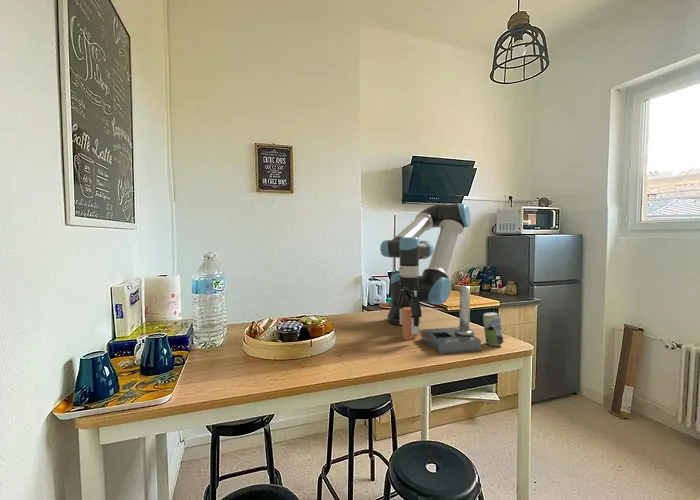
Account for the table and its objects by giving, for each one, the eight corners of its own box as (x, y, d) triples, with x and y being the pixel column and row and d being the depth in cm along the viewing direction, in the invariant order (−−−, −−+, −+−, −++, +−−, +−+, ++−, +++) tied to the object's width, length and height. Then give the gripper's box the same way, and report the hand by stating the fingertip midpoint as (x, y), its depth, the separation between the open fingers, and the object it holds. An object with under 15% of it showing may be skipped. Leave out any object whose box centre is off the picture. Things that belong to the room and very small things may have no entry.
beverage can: (505, 348, 127) (505, 315, 126) (483, 346, 129) (484, 314, 128) (501, 342, 133) (501, 311, 132) (480, 341, 135) (481, 310, 134)
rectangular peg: (402, 336, 141) (402, 307, 140) (411, 336, 142) (411, 307, 141) (405, 339, 137) (405, 309, 136) (415, 339, 138) (415, 309, 137)
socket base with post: (421, 339, 137) (421, 284, 136) (461, 336, 140) (462, 282, 139) (439, 354, 121) (439, 292, 120) (484, 350, 125) (485, 289, 123)
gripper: (390, 272, 149) (390, 320, 151) (411, 281, 125) (411, 339, 126) (407, 271, 150) (406, 319, 152) (431, 280, 126) (430, 337, 128)
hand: (408, 328), depth 139 cm, fingers open, 13 cm apart
